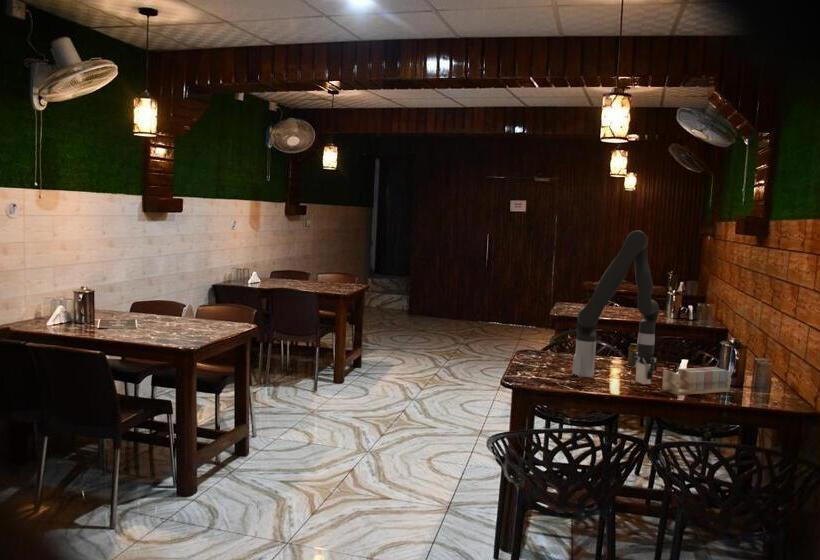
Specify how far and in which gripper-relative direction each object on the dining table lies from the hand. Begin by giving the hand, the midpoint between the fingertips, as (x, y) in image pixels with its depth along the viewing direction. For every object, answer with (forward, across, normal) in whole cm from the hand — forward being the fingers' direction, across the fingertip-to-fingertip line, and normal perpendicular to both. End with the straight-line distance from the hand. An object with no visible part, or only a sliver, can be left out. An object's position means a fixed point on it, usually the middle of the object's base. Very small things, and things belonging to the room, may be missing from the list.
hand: (643, 377), depth 304 cm
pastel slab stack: (+2, +18, +14) cm, 23 cm away
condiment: (+3, -32, +20) cm, 38 cm away
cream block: (+3, 0, 0) cm, 3 cm away
